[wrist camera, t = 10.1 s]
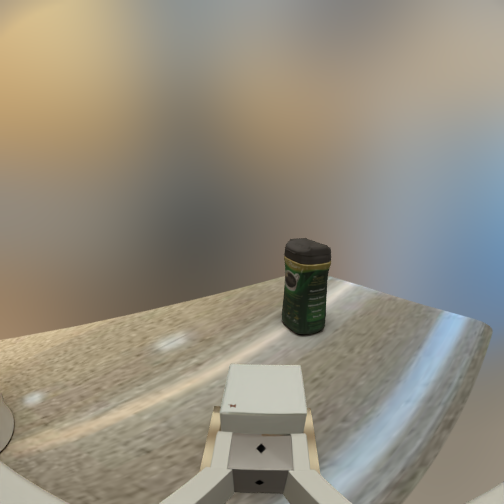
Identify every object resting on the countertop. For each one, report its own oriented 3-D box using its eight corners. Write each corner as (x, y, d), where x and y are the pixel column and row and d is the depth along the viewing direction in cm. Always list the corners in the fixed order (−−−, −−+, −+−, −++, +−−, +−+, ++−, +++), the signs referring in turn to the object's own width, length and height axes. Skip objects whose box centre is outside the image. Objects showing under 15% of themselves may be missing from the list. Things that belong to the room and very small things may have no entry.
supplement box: (293, 484, 23) (309, 415, 20) (225, 481, 23) (216, 412, 20) (292, 438, 30) (302, 363, 27) (233, 436, 30) (228, 361, 27)
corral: (316, 486, 22) (320, 476, 21) (202, 483, 23) (199, 473, 22) (307, 419, 33) (310, 407, 32) (215, 418, 33) (214, 406, 33)
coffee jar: (330, 330, 57) (339, 243, 52) (298, 339, 54) (304, 247, 49) (306, 312, 65) (311, 234, 61) (276, 319, 63) (278, 236, 58)
